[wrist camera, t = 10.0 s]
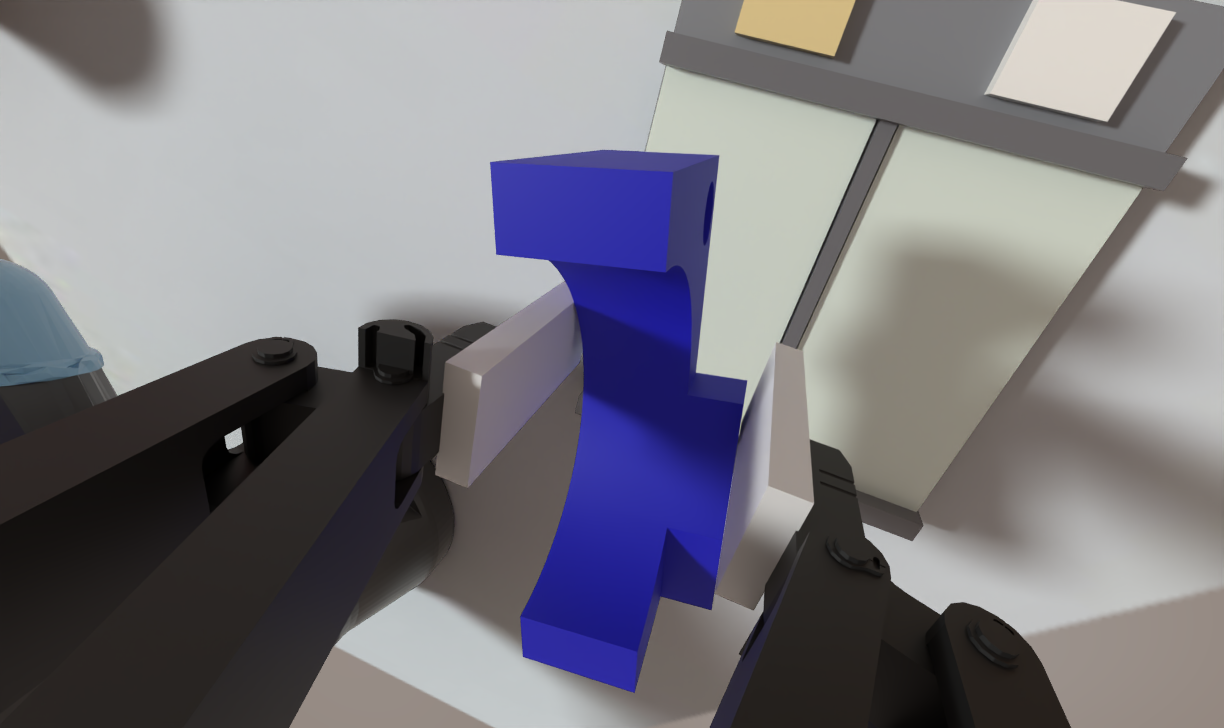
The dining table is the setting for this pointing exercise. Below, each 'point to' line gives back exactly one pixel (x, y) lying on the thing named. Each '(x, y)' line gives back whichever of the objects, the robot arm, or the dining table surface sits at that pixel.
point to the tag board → (916, 195)
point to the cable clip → (627, 398)
